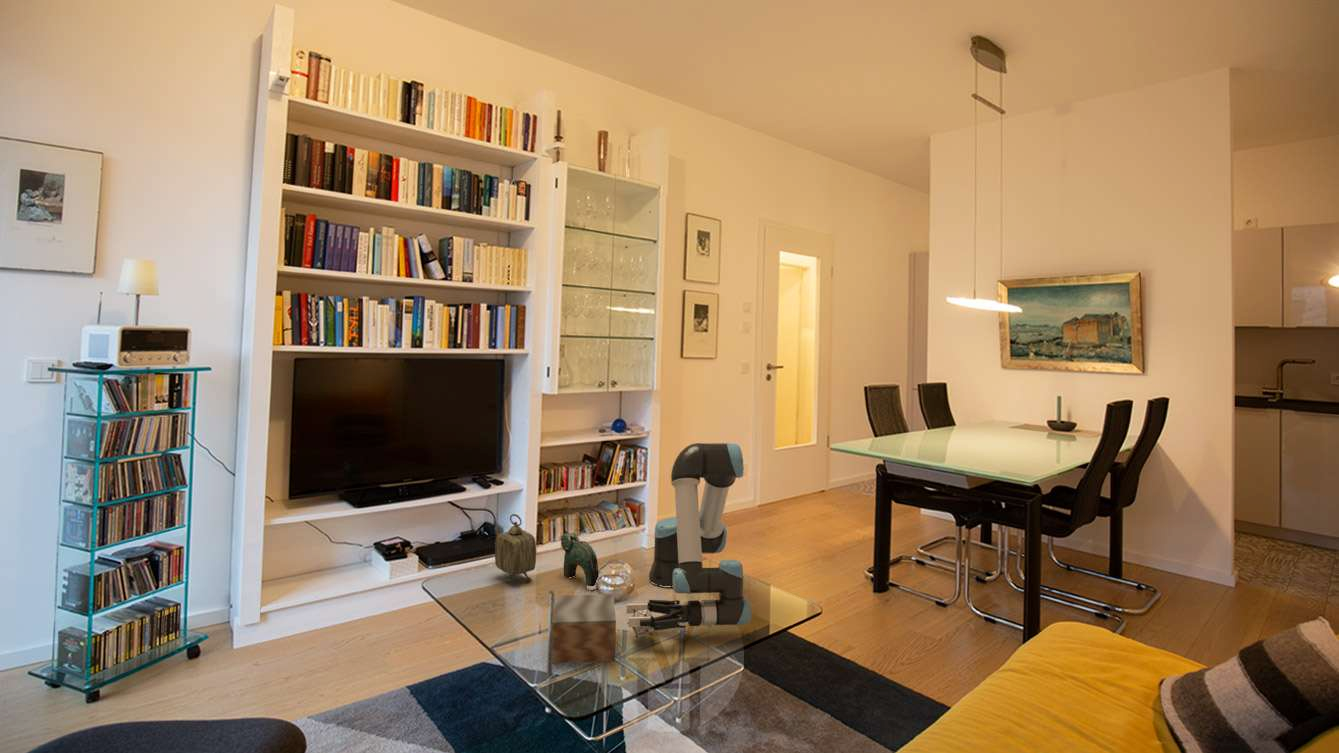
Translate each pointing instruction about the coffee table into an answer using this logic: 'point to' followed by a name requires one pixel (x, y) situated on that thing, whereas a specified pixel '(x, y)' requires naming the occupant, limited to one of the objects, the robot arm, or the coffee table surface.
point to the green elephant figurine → (579, 557)
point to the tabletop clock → (515, 551)
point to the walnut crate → (583, 628)
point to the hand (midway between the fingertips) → (627, 615)
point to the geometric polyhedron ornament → (641, 629)
